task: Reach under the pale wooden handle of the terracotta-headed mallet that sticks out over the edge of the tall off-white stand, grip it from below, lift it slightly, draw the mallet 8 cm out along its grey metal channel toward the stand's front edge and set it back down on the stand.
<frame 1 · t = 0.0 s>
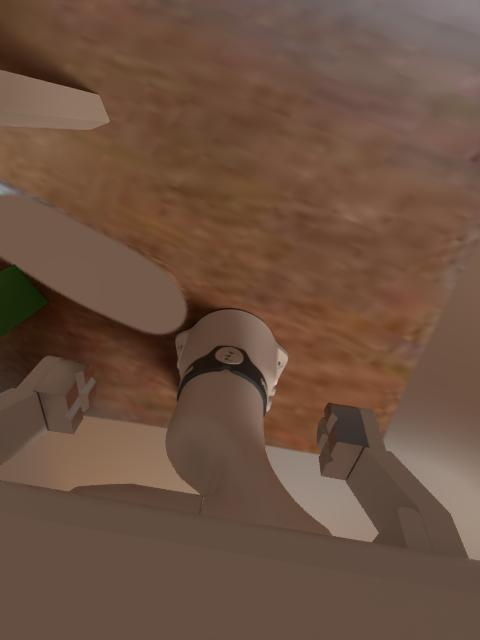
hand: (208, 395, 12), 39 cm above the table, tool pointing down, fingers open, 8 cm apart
stand: (2, 73, 41), on the table
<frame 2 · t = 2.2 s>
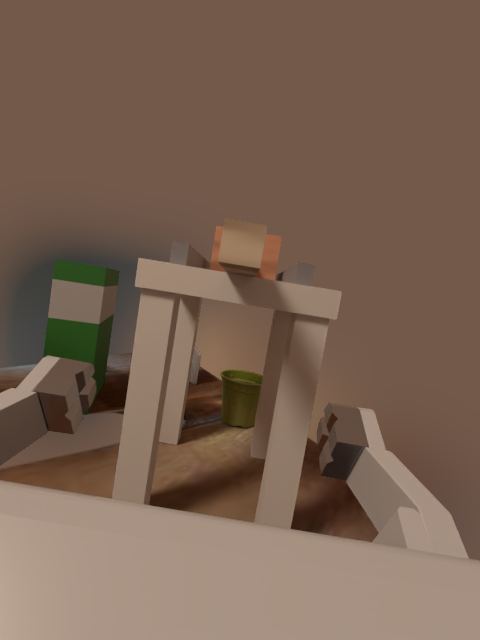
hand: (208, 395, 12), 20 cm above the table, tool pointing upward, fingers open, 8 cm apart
mallet: (240, 278, 36), point 25 cm above the table, touching stand
stand: (208, 478, 43), on the table
hardback book: (75, 396, 63), on the table
cassette: (191, 379, 88), on the table
plant pot: (237, 422, 63), on the table
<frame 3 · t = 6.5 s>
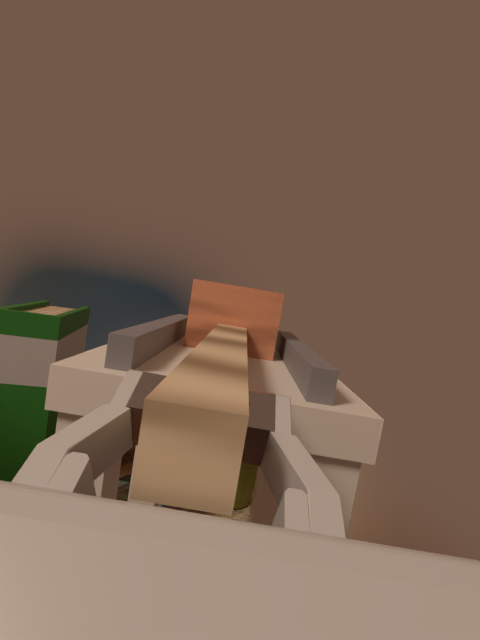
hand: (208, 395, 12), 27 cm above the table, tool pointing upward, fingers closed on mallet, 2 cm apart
mallet: (223, 368, 24), point 25 cm above the table, touching gripper, stand
stand: (183, 625, 31), on the table
hardback book: (30, 465, 52), on the table
plant pot: (229, 498, 52), on the table
when the fingers open (28 cm above the table, at t = 10.8 s): mallet stays where it is, resting on stand.
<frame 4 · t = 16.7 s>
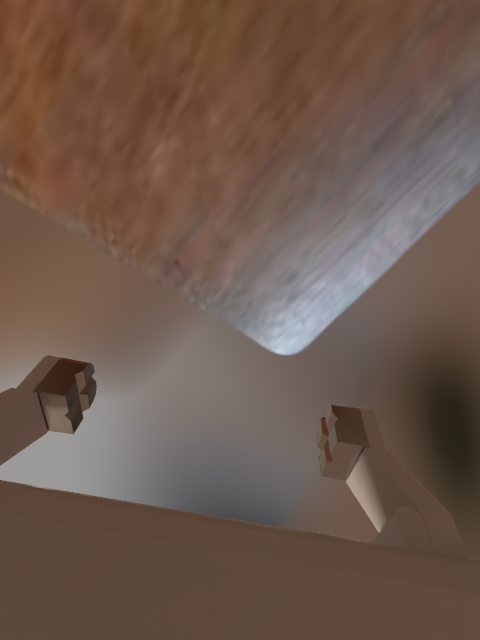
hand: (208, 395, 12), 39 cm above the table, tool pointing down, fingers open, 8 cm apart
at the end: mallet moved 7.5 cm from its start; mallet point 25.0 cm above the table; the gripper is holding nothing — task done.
